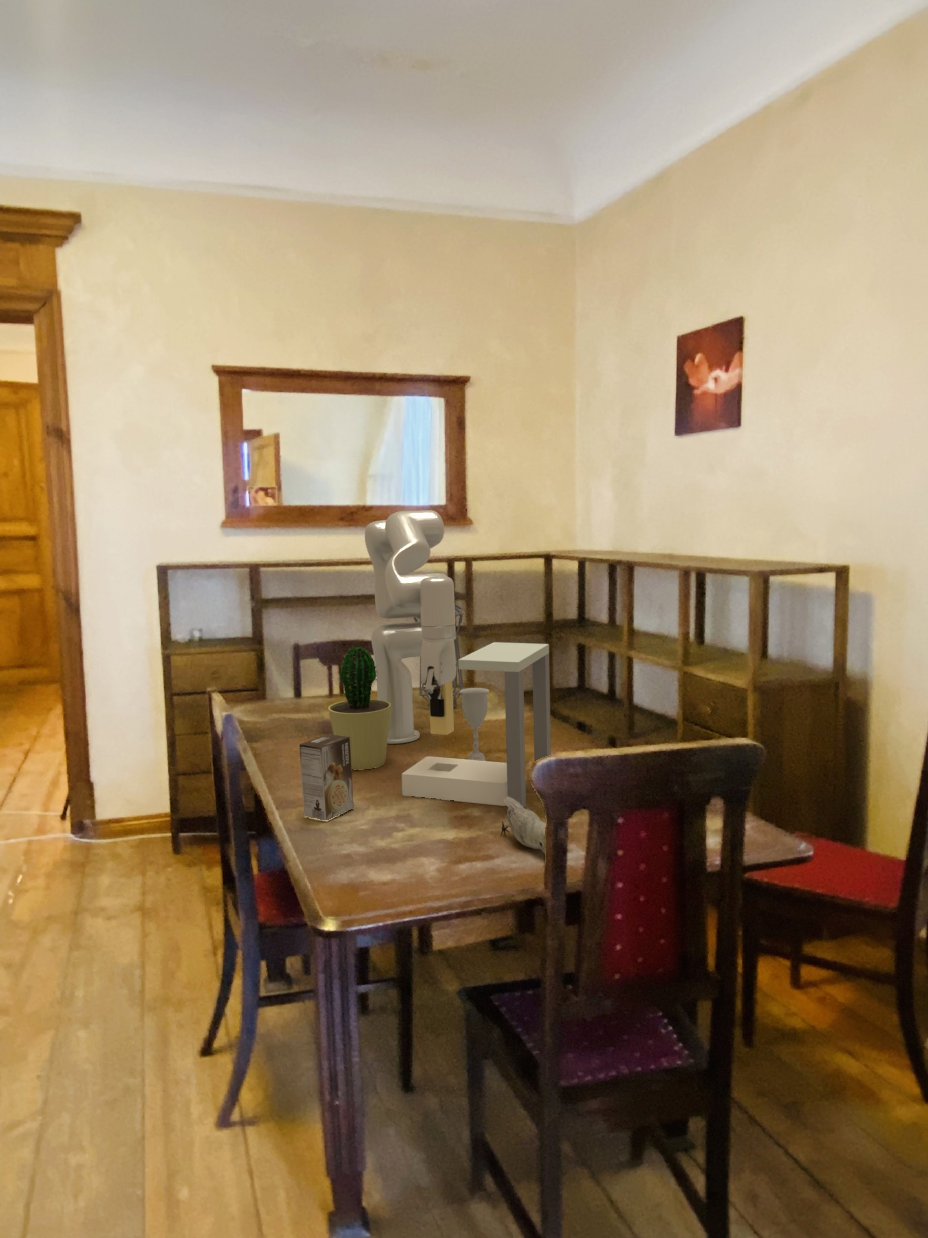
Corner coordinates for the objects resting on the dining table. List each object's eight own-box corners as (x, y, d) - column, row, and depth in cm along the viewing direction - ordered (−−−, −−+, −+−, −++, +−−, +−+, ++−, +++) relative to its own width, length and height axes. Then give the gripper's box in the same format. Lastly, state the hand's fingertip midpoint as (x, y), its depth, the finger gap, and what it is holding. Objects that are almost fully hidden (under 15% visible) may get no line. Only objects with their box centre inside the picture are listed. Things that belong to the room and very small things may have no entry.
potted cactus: (319, 770, 223) (313, 649, 219) (348, 753, 237) (343, 639, 233) (376, 775, 218) (371, 651, 213) (403, 757, 232) (398, 640, 228)
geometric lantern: (466, 710, 279) (463, 596, 274) (415, 711, 280) (410, 598, 275) (467, 698, 295) (463, 591, 290) (418, 700, 295) (414, 592, 290)
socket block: (402, 795, 203) (401, 773, 202) (427, 776, 215) (427, 756, 215) (505, 806, 194) (504, 783, 193) (525, 785, 207) (524, 764, 206)
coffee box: (331, 805, 198) (327, 732, 196) (354, 809, 195) (351, 736, 192) (302, 818, 190) (298, 743, 188) (326, 823, 187) (322, 747, 185)
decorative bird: (539, 864, 164) (538, 824, 163) (496, 836, 178) (495, 799, 177) (565, 858, 166) (564, 819, 165) (520, 830, 180) (519, 794, 179)
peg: (430, 733, 203) (428, 680, 202) (437, 729, 207) (435, 677, 205) (447, 734, 202) (445, 681, 200) (454, 730, 205) (452, 677, 204)
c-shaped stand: (463, 808, 193) (458, 659, 189) (497, 777, 213) (494, 642, 209) (521, 814, 188) (518, 662, 184) (551, 782, 209) (548, 644, 204)
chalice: (494, 759, 228) (492, 688, 225) (486, 767, 221) (484, 694, 219) (466, 757, 230) (464, 687, 228) (458, 765, 224) (455, 693, 221)
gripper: (437, 627, 211) (440, 705, 213) (407, 638, 195) (410, 721, 197) (468, 627, 208) (470, 706, 210) (439, 638, 192) (442, 723, 195)
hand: (441, 713), depth 204 cm, fingers closed on peg, 4 cm apart
